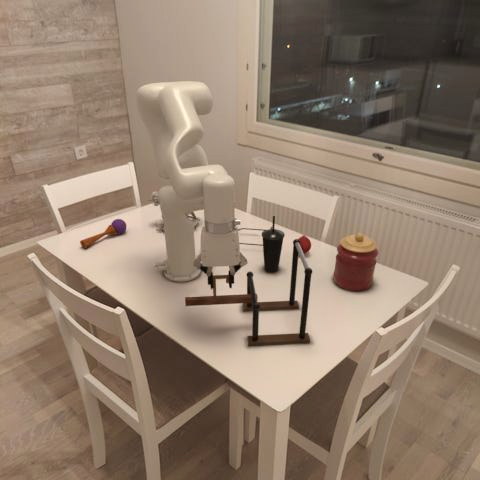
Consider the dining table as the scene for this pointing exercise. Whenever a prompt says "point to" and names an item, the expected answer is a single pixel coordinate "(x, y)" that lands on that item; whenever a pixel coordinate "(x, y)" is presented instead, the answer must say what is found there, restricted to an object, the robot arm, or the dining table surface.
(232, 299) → the hanger
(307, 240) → the red oval fruit
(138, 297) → the dining table surface
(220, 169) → the robot arm
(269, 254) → the drinking cup
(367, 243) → the kitchen canister
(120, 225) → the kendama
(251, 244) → the glasses
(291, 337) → the rack
